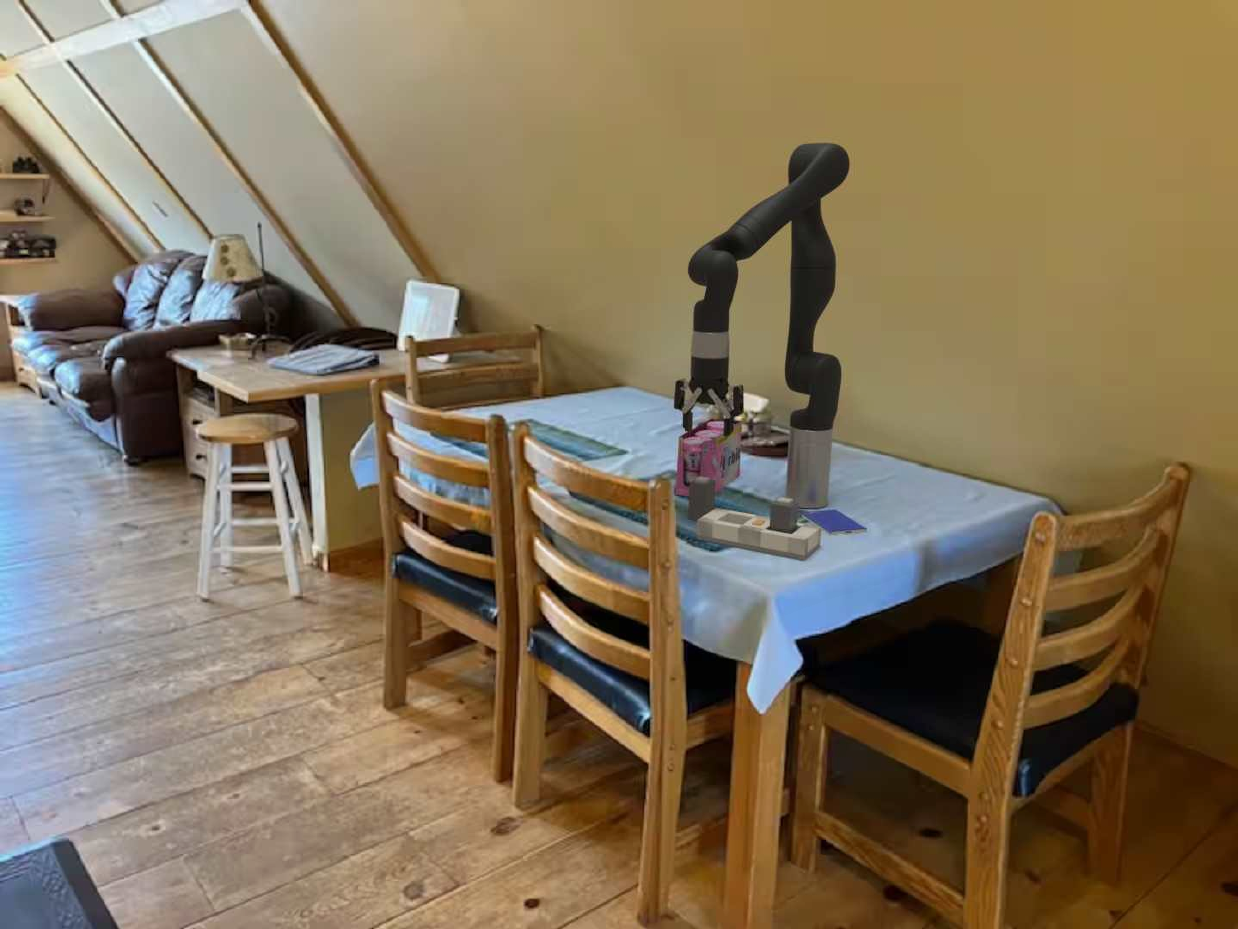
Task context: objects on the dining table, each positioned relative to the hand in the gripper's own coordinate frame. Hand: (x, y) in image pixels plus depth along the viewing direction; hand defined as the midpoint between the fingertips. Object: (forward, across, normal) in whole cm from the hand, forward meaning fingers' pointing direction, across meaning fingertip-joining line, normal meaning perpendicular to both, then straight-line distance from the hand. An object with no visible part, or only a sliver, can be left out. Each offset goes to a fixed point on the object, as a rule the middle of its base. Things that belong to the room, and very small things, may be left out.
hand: (707, 433), depth 200 cm
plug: (+19, +2, -2) cm, 19 cm away
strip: (+19, -14, +7) cm, 25 cm away
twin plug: (+18, -19, +7) cm, 27 cm away
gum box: (+19, +10, -25) cm, 33 cm away
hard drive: (+20, -24, -12) cm, 33 cm away
